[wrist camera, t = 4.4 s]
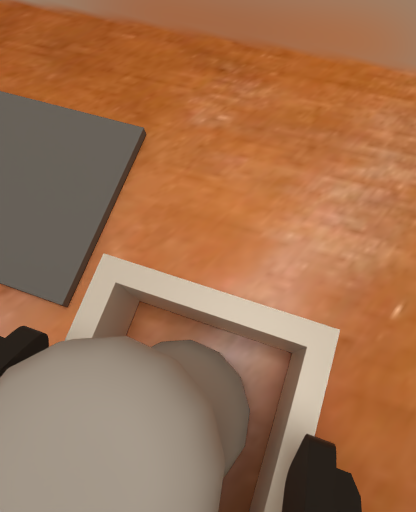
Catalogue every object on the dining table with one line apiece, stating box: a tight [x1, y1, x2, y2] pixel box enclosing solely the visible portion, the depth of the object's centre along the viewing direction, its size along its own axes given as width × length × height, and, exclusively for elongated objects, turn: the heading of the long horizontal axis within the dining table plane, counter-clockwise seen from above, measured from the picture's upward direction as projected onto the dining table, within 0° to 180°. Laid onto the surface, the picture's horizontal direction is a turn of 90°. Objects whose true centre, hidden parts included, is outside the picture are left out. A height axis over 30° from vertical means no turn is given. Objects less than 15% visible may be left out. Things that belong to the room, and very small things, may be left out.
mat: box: [0, 91, 146, 307], centre depth 21 cm, size 11×11×1 cm
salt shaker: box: [0, 336, 250, 512], centre depth 11 cm, size 6×6×13 cm
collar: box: [65, 254, 340, 512], centre depth 15 cm, size 10×10×4 cm
